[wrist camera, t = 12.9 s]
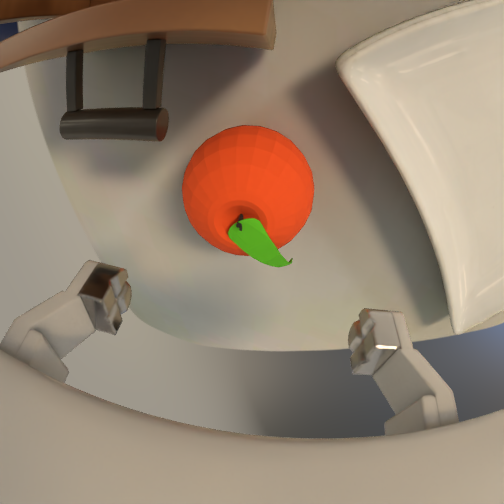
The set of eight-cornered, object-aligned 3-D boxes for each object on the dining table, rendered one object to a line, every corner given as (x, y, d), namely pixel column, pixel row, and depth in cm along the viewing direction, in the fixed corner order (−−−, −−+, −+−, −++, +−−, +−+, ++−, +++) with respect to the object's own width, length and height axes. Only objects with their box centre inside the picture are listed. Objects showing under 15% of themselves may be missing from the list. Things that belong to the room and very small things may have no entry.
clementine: (335, 194, 18) (357, 265, 13) (251, 238, 21) (239, 314, 16) (267, 92, 14) (258, 114, 9) (179, 155, 17) (132, 211, 12)
